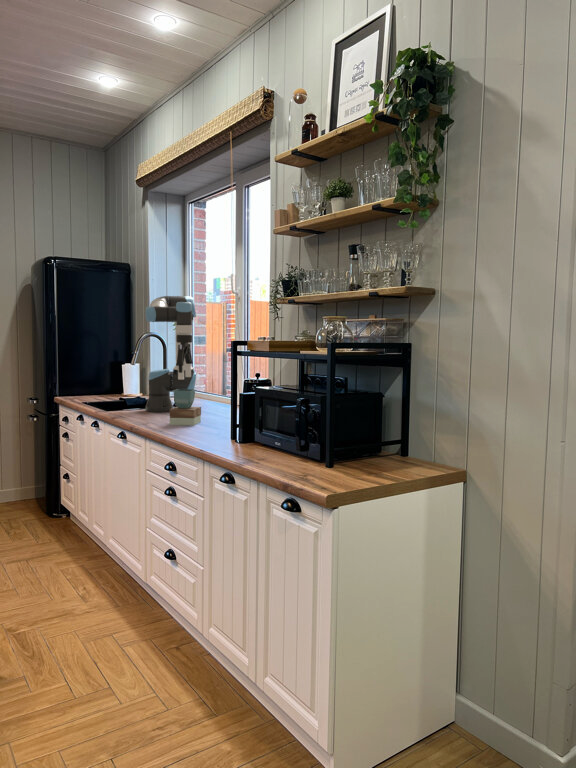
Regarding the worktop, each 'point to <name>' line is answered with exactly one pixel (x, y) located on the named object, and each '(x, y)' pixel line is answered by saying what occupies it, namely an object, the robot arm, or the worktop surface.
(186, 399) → the flower pot
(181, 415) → the tower top
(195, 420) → the tower base
